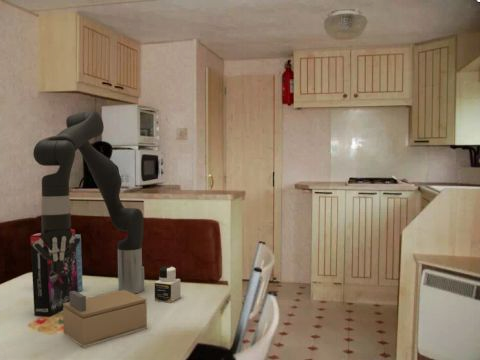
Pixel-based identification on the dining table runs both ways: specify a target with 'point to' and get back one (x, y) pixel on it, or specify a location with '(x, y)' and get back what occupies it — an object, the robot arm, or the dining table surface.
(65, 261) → the graphics card box
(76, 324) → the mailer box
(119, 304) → the lid
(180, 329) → the dining table surface
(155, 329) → the dining table surface
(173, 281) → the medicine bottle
